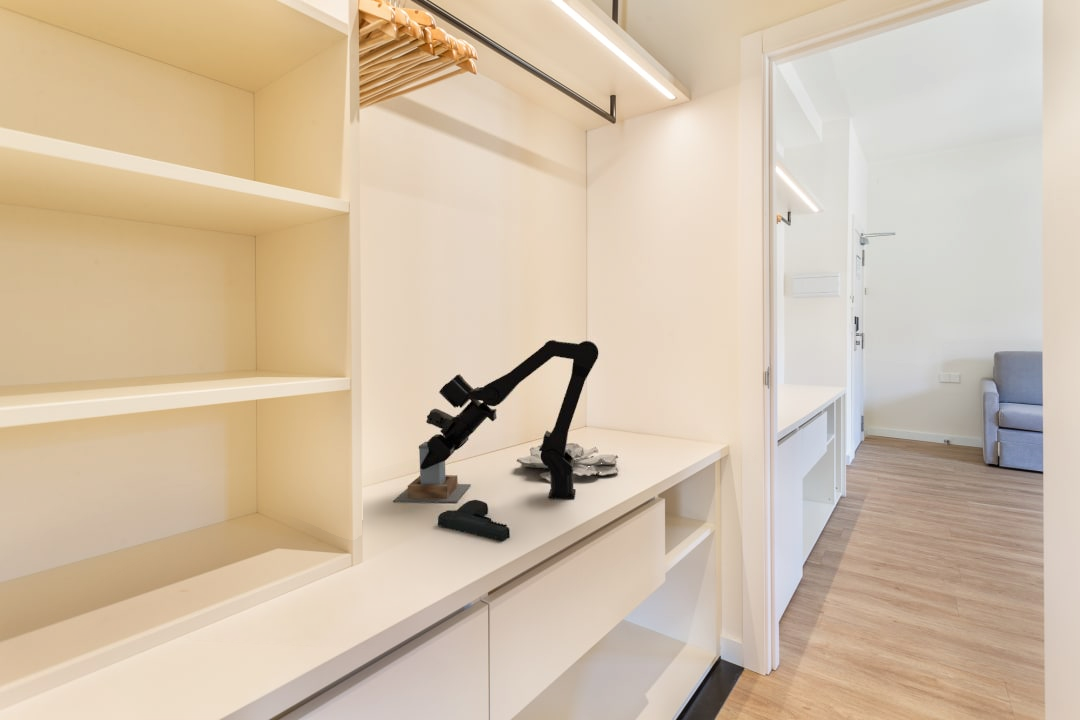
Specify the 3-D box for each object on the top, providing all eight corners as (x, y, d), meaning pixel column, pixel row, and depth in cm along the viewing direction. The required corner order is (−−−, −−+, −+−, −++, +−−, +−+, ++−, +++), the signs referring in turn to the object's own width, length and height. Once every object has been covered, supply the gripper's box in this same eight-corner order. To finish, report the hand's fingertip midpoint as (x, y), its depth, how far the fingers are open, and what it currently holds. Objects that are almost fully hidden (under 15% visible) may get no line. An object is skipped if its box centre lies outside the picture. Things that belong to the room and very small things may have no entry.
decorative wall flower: (624, 459, 139) (512, 460, 140) (624, 485, 139) (512, 485, 140) (613, 436, 169) (520, 436, 170) (613, 457, 169) (521, 457, 170)
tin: (446, 489, 136) (444, 441, 135) (440, 495, 131) (438, 446, 130) (427, 488, 136) (425, 441, 136) (420, 495, 131) (418, 446, 130)
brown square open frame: (457, 486, 138) (457, 475, 138) (447, 498, 128) (446, 486, 128) (421, 486, 139) (420, 475, 139) (408, 497, 129) (407, 485, 129)
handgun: (533, 526, 112) (500, 547, 101) (470, 511, 121) (433, 529, 111) (533, 512, 111) (500, 531, 101) (470, 498, 121) (433, 514, 110)
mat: (470, 485, 140) (470, 484, 140) (456, 503, 126) (456, 501, 126) (413, 485, 141) (413, 483, 141) (393, 502, 127) (393, 500, 127)
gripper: (455, 393, 141) (417, 434, 143) (434, 403, 122) (390, 450, 124) (484, 422, 141) (446, 462, 142) (467, 436, 122) (423, 482, 124)
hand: (427, 463), depth 133 cm, fingers open, 9 cm apart
